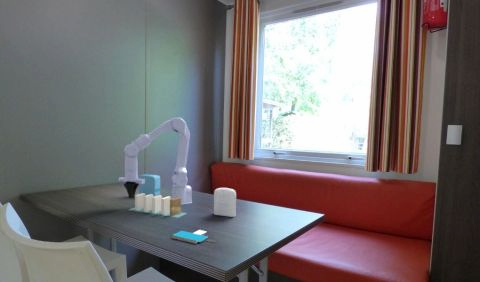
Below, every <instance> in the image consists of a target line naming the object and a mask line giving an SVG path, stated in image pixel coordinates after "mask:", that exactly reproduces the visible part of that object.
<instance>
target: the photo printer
mask: <svg viewBox="0 0 480 282" xmlns="http://www.w3.org/2000/svg"><path fill="white" fill-rule="evenodd" d="M236 191H237V190H235V189H233V188H228V187H218V188H216V189H214V192H213V215H214V216H221V217H222V216H223V217H228V218H230V217H231V218H234V217H236V215H237V214H236V213H237V211H236V210H237V192H236Z"/></svg>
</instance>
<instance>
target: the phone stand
mask: <svg viewBox="0 0 480 282" xmlns="http://www.w3.org/2000/svg"><path fill="white" fill-rule="evenodd" d="M207 232H208V231H207V230H206V231H205V230H203V229H198V230H196V231H194V232H188V231H185V230H180V231H178V232H176V233H174V234H171V239H174V240H179V241H183V242H187V243H191V244H196V245H198V244H201V243H202V242H203V243H204V242H210V243H216V242H217V240H214V239H210V238H209V236H206V235H205V234H206V233H207Z"/></svg>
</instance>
